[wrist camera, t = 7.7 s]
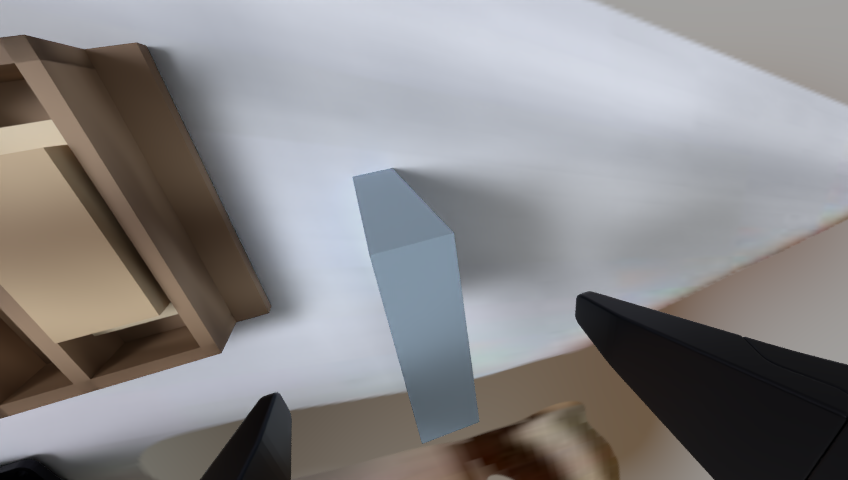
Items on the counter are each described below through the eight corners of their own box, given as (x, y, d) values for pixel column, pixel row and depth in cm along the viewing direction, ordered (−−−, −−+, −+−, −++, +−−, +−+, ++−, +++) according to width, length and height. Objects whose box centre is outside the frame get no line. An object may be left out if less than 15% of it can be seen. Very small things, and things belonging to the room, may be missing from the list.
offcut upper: (175, 297, 13) (159, 315, 12) (81, 321, 12) (55, 343, 11) (76, 143, 10) (43, 147, 9) (-50, 165, 10) (-103, 173, 8)
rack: (271, 306, 16) (258, 341, 14) (32, 373, 14) (-33, 428, 12) (146, 46, 11) (90, 26, 9) (-251, 98, 9) (-469, 94, 7)
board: (416, 283, 18) (479, 422, 10) (384, 293, 18) (422, 443, 10) (392, 168, 15) (453, 233, 7) (352, 176, 15) (369, 255, 7)
